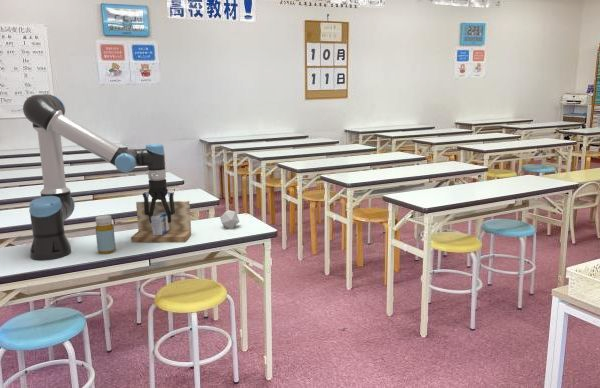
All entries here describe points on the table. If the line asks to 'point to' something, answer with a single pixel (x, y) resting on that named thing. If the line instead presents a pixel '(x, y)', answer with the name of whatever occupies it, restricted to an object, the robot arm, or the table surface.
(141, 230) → the cleat board
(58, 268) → the table surface
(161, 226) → the medicine box
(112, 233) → the bottle
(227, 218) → the die
